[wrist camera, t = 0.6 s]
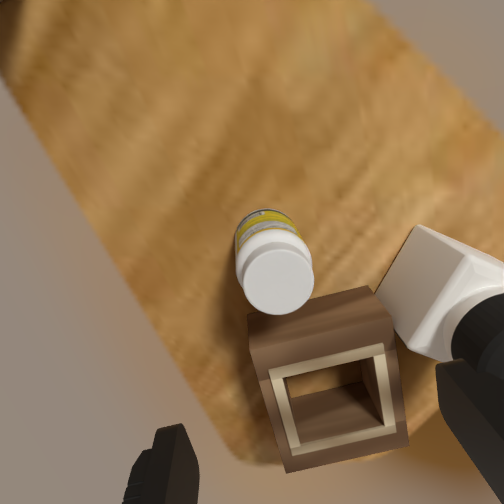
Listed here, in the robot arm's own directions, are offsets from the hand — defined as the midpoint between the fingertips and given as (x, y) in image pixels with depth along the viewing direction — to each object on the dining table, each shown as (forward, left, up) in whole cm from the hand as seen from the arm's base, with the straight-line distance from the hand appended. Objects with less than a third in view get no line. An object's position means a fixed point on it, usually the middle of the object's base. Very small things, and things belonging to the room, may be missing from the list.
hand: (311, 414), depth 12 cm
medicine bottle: (+7, +12, -18) cm, 23 cm away
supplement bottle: (0, 0, -18) cm, 18 cm away
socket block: (+12, +2, -18) cm, 22 cm away
